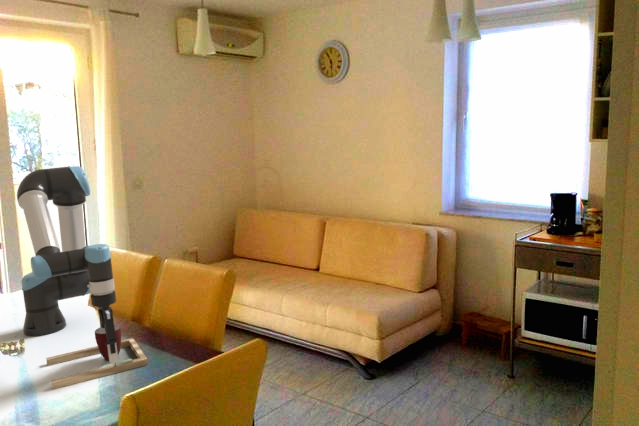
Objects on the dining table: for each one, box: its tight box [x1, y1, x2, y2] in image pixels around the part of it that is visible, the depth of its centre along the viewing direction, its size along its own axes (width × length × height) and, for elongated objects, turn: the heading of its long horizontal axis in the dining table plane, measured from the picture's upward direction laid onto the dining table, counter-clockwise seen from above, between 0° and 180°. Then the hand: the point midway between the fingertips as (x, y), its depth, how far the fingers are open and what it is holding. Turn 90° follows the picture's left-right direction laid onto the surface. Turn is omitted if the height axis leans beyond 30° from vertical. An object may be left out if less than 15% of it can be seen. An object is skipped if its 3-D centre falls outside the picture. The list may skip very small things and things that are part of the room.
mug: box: [94, 324, 122, 361], centre depth 186 cm, size 11×8×10 cm
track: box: [45, 337, 149, 390], centre depth 184 cm, size 23×28×3 cm
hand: (111, 356), depth 186 cm, fingers closed on mug, 10 cm apart
